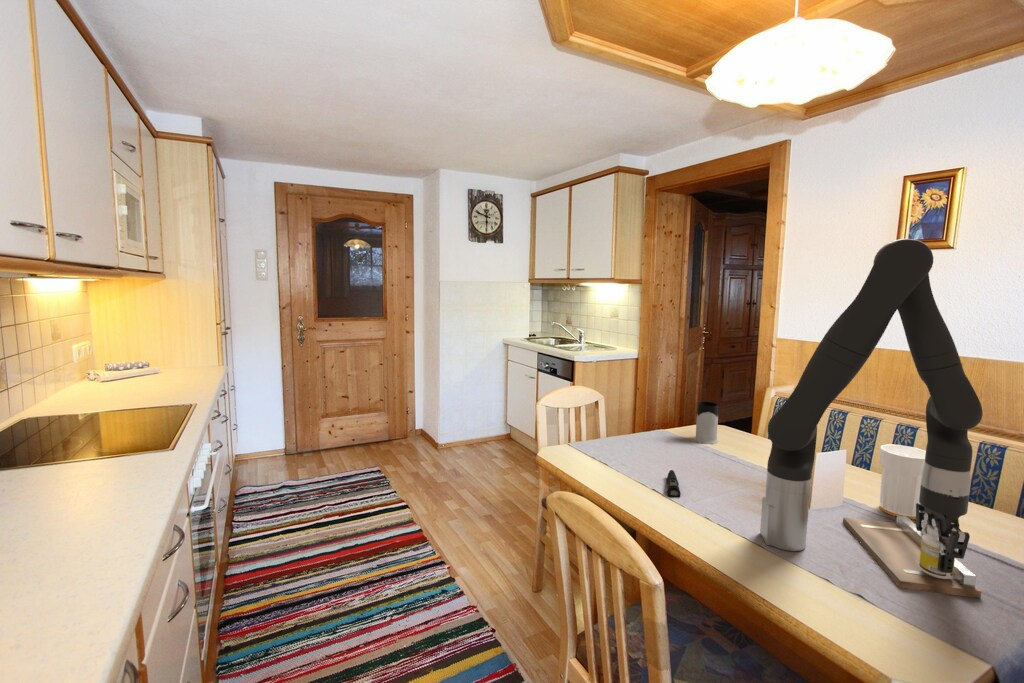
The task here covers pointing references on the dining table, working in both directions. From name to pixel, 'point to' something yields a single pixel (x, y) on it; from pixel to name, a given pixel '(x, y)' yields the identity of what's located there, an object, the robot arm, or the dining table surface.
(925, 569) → the supplement bottle
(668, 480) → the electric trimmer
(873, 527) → the brown flat wooden board
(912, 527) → the metal straightedge
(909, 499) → the cup
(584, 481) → the dining table surface
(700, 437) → the glass holder
